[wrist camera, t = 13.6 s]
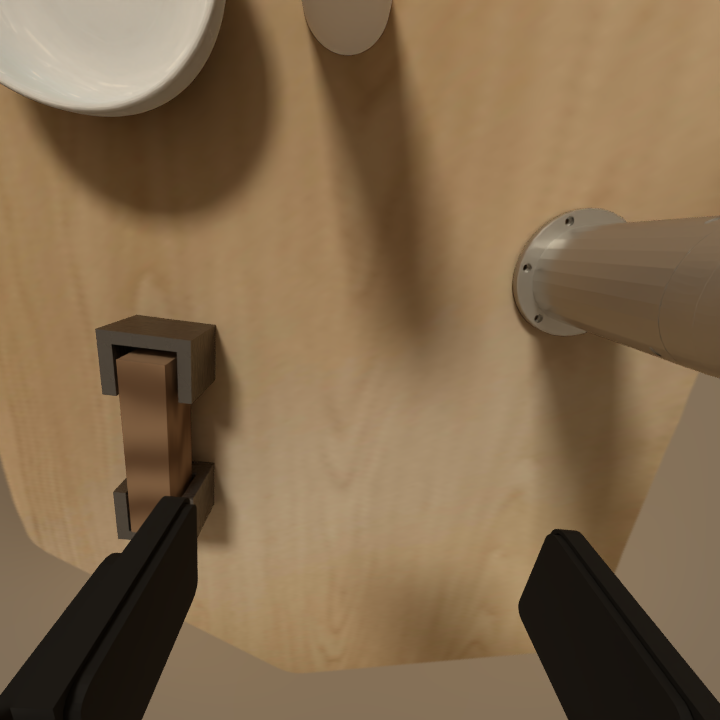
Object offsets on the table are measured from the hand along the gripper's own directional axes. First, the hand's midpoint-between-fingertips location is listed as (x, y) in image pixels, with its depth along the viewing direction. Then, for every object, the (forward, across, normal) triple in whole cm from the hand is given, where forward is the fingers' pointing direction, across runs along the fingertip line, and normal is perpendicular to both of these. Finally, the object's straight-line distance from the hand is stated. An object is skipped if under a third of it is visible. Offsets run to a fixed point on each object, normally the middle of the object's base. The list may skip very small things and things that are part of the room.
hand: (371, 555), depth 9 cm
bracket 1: (+28, +18, +6) cm, 34 cm away
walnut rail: (+26, +18, +14) cm, 35 cm away
